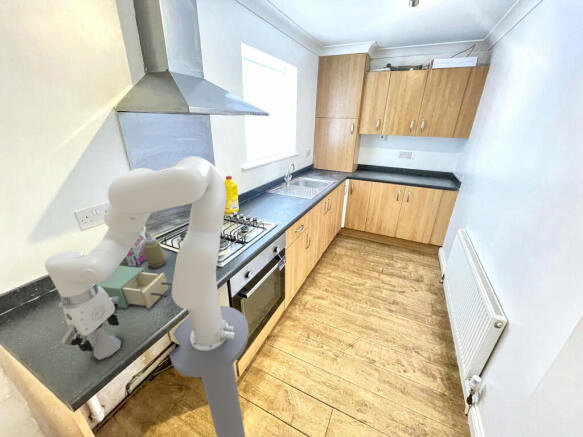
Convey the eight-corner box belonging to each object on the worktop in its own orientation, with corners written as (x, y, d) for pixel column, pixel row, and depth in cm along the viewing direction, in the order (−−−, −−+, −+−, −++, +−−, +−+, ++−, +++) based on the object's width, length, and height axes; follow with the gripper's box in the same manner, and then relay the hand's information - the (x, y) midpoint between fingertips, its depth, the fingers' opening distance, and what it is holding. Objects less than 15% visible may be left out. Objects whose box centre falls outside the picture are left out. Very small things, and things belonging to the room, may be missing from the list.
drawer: (183, 289, 97) (179, 274, 94) (165, 310, 87) (160, 294, 84) (140, 284, 100) (135, 269, 97) (118, 304, 90) (111, 288, 86)
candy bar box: (138, 267, 113) (128, 237, 106) (128, 266, 113) (117, 237, 106) (152, 254, 123) (144, 226, 116) (143, 254, 123) (134, 226, 116)
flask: (124, 348, 74) (114, 326, 70) (95, 364, 69) (83, 341, 65) (119, 334, 78) (109, 312, 74) (92, 348, 74) (80, 326, 70)
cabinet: (149, 286, 100) (143, 268, 96) (126, 308, 89) (118, 288, 85) (120, 282, 102) (113, 264, 98) (93, 303, 91) (84, 284, 87)
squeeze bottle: (150, 261, 117) (140, 229, 109) (167, 258, 119) (159, 227, 112) (146, 271, 110) (135, 237, 102) (165, 267, 112) (156, 235, 105)
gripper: (58, 319, 56) (85, 366, 63) (118, 274, 72) (134, 316, 79) (33, 315, 57) (62, 361, 64) (97, 272, 73) (115, 313, 80)
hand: (101, 336), depth 71 cm, fingers open, 8 cm apart
